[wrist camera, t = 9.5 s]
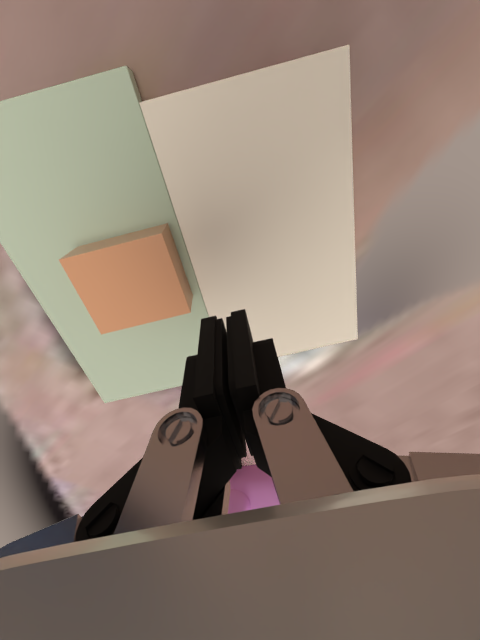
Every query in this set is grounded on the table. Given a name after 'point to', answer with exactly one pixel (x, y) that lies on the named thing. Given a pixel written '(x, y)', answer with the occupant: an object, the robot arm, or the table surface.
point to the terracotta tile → (130, 279)
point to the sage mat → (91, 220)
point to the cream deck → (267, 196)
